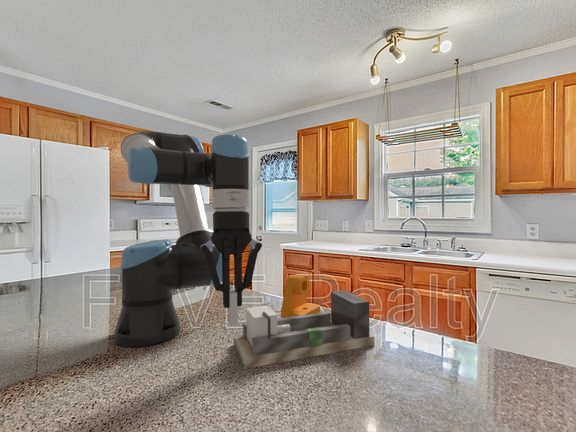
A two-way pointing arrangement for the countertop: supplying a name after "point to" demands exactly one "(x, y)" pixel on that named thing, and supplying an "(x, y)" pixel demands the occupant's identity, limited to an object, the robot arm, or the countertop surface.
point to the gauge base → (311, 334)
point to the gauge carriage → (263, 323)
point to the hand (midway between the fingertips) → (232, 322)
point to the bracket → (297, 298)
